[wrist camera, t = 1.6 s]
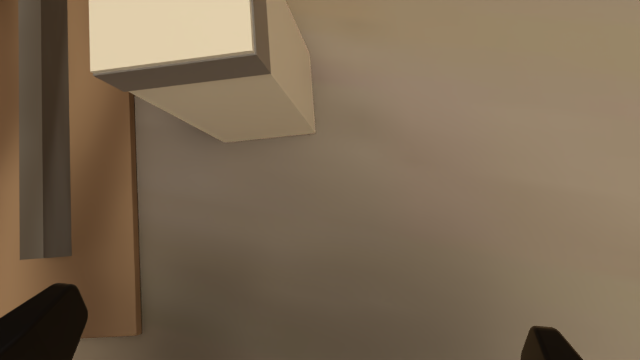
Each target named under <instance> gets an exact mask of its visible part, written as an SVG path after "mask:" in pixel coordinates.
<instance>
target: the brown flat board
mask: <svg viewBox="0 0 640 360" xmlns="http://www.w3.org/2000/svg"><path fill="white" fill-rule="evenodd" d="M55 283H67V284H74V285H76V286H77V287H78V289H79V291H80V293H81V296H82V298H83V300H84V302H85V305H86V307H87V310H88V319H87V323H86V325H85V328H84V331H83V333H82V336H81V338H97V337H117V336H137V335H139V334H141V333H142V323H141V293H140V263H139V232H138V202H137V171H136V141H135V110H134V94H132V93H130V92H128V91H127V92H123V91H121V90H119V89H117V88H116V87H114V86H112V85H110V84H108V83H106V82H104V81H102V80H100V79H98V78H96V77H94V76H93V73H92V72H90V37H89V0H0V318H1V317H2V316H4V315H5V314H7V313H9V312H10V311H12V310H13V309H15V308H16V307H18V306H19V305H21V304H23V303H24V302H26V301H27V300H29V299H30V298H32V297H33V296H35V295H37V294H38V293H40V292H41V291H43V290H44V289H46V288H47V287H49V286H51V285H52V284H55Z"/></svg>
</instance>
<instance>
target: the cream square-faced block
mask: <svg viewBox="0 0 640 360" xmlns="http://www.w3.org/2000/svg"><path fill="white" fill-rule="evenodd" d="M89 37H90V72H92V73H93V76H94V77H96V78H98V79H100V80H102V81H104V82H106V83H108V84H110V85H112V86H114V87H116V88H117V89H119V90H121V91H123V92H127V91H128V92H130V93H132V94H134V95H136V96H137V97H139V98H141V99H143V100H145V101H147V102H149V103H151V104H152V105H154V106H156V107H158V108H160V109H162V110H164V111H166V112H168V113H169V114H171V115H173V116H175V117H177V118H179V119H181V120H183V121H184V122H186V123H188V124H190V125H192V126H194V127H196V128H198V129H200V130H201V131H203V132H205V133H207V134H209V135H211V136H213V137H215V138H217V139H218V140H220V141H222V142H224V143H228V142H237V141H247V140H256V139H266V138H275V137H285V136H295V135H304V134H314V133H316V128H315V115H314V102H313V89H312V75H311V62H310V53H309V51H308V49H307V47H306V44H305V42H304V40H303V38H302V36H301V33H300V31H299V29H298V27H297V25H296V22H295V20H294V18H293V16H292V14H291V11H290V9H289V7H288V5H287V3H286V1H285V0H89Z"/></svg>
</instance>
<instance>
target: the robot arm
mask: <svg viewBox="0 0 640 360" xmlns="http://www.w3.org/2000/svg"><path fill="white" fill-rule="evenodd" d="M87 319H88V310H87V307H86V305H85V302H84V300H83V298H82V296H81V293H80V291H79V289H78V287H77V286H76V285H74V284H67V283H55V284H52V285H51V286H49V287H47V288H46V289H44V290H43V291H41V292H40V293H38V294H37V295H35V296H33V297H32V298H30V299H29V300H27V301H26V302H24V303H23V304H21V305H19V306H18V307H16V308H15V309H13V310H12V311H10V312H9V313H7V314H5V315H4V316H2V317H1V318H0V360H72V358H73V356H74V353H75V351H76V348H77V346H78V343H79V341H80V338H81V336H82V333H83V331H84V328H85V325H86V323H87ZM521 360H583V359H582V358H581V357H580V355H579V354H578V353H577V352H576V351H575V350H574V348H573V347H572V346H571V345H570V344H569V343H568V341H567V340H566V339H565V338H564V337H563V336H562V334H561V333H560V332H559V331H558V330H557V329H555V328H552V327H543V326H533V327H531V328H530V330H529V333H528V336H527V339H526V341H525V344H524V347H523V350H522V353H521Z"/></svg>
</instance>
